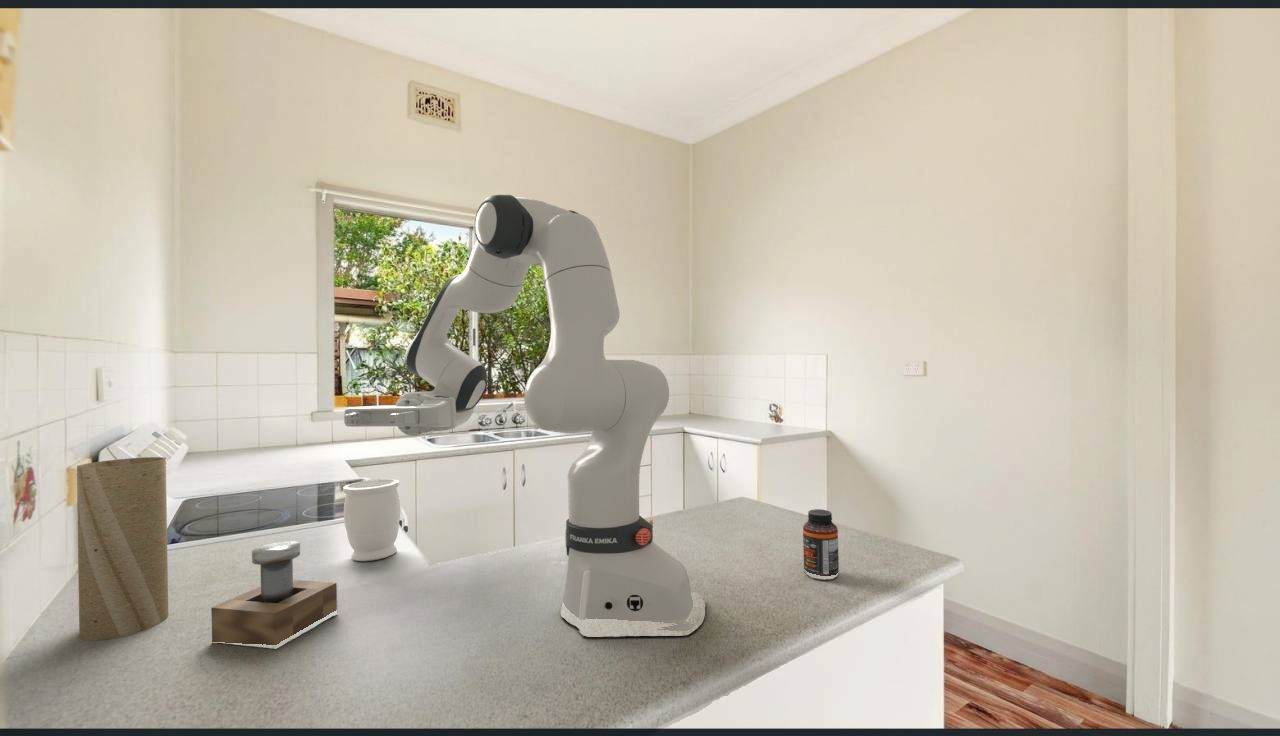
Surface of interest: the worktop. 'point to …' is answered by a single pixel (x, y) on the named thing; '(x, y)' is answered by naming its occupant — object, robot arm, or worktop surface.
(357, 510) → the jar
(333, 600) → the block
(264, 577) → the pin
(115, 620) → the tube
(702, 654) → the worktop surface
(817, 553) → the supplement bottle
